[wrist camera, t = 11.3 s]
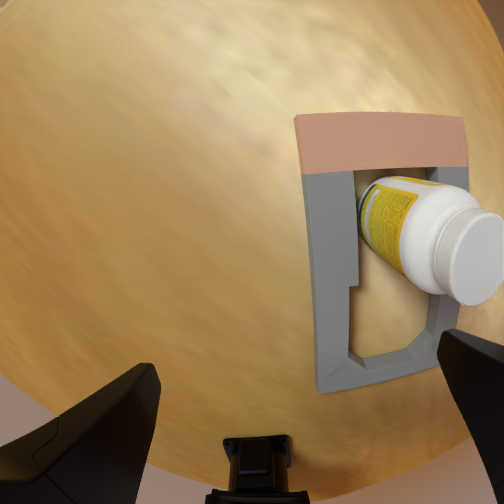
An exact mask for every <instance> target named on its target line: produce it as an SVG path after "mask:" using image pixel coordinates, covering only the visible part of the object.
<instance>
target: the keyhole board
mask: <svg viewBox="0 0 504 504" xmlns="http://www.w3.org/2000/svg"><path fill="white" fill-rule="evenodd" d="M294 124H295V131H296V138H297V145H298V153H299V161H300V168H301V177H302V185H303V194H304V203H305V213H306V223H307V233H308V245H309V257H310V270H311V284H312V300H313V318H314V340H315V373H316V386H317V390H318V395H319V394H325V393H331V392H336V391H342V390H347V389H352V388H357V387H361V386H366V385H370V384H375V383H379V382H383V381H387V380H391V379H395V378H399V377H402V376H406V375H409V374H413V373H416V372H420V371H423V370H426V369H429V368H433V367H436V366H439V365H440V364H439V362H438V359H437V349H438V345H439V341H440V336H441V333H442V332H443V331H444V330H448V329H452V328H454V329H455V327H456V322H457V317H458V312H459V306H460V303H459V302H457V301H456V300H455V299H454V298H452V297H451V296H449V295H448V294H439V295H438V294H430V302H429V309H428V316H427V323H426V328H425V329H424V330H423V332H422V333H421V334H420V335H419V336H418V337H417V338H416V339H415V340H414V341H413V342H412V343H411V344H410V345H409V346H408V347H407V348H406V349H403V350H399V351H395V352H391V353H387V354H382V355H378V356H373V357H369V358H364V359H362V358H360V357H359V356H357V355H356V354H354V353H353V352H351V351H350V350H348V341H349V287H350V286H357V285H359V270H358V233H357V214H356V199H355V187H354V176H353V170H368V169H386V168H409V167H426V169H427V181H432V182H437V183H442V184H447V185H452V186H456V187H459V188H462V189H464V190H466V191H467V192H469V181H468V161H467V149H466V139H465V130H464V122H463V117H454V116H445V115H434V114H420V113H400V112H337V113H317V114H302V115H296V117H295V118H294Z"/></svg>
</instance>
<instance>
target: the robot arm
mask: <svg viewBox="0 0 504 504" xmlns="http://www.w3.org/2000/svg"><path fill="white" fill-rule="evenodd" d="M437 359H438V362H439V364H440V366H441V369H442V371H443V374H444V376H445V379H446V381H447V384H448V386H449V389H450V391H451V394H452V396H453V398H454V400H455V402H456V404H457V406H458V408H459V410H460V412H461V414H462V416H463V418H464V420H465V423H466V425H467V427H468V429H469V431H470V433H471V436H472V438H473V440H474V442H475V445H476V446H477V449H478V452H479V454H480V456H481V459H482V461H483V463H484V466H485V469H486V471H487V474H488V477H489V479H490V482H491V485H492V488H493V489H494V490H493V491H494V494H495V497H496V500H497V503H498V504H504V346H502V345H500V344H497V343H494V342H491V341H488V340H485V339H483V338H480V337H477V336H474V335H471V334H468V333H465V332H463V331H460V330H457V329H454V328H452V329H448V330H444V331H443V332H442V333H441V336H440V341H439V345H438V349H437ZM160 394H161V383H160V380H159V378H158V375H157V372H156V369H155V367H154V365H153V364H152V363H139V364H137V365H136V366H134V367H133V368H131V369H130V370H128V371H127V372H125V373H124V374H122V375H121V376H119V377H118V378H116V379H115V380H113V381H112V382H110V383H109V384H107V385H106V386H104V387H103V388H101V389H100V390H98V391H97V392H95V393H93V394H92V395H90V396H89V397H87V398H86V399H84V400H83V401H81V402H80V403H78V404H76V405H75V406H73V407H72V408H70V409H69V410H67V411H65V412H64V413H62V414H61V415H59V417H56V418H54V419H53V420H51V421H50V422H48V423H46V424H45V425H43V426H41V427H40V428H38V429H36V430H34V431H32V432H30V433H28V434H26V435H24V436H22V437H20V438H18V439H16V440H14V441H12V442H10V443H8V444H5V445H3V446H1V447H0V504H135V502H136V498H137V494H138V490H139V486H140V482H141V478H142V475H143V471H144V467H145V463H146V460H147V456H148V452H149V449H150V445H151V441H152V438H153V434H154V430H155V425H156V418H157V412H158V406H159V400H160ZM223 446H224V449H225V451H226V454H227V456H228V459H229V461H230V475H229V487H228V491H222V490H218V489H212V493H211V494H209V495H206V499H205V504H310V501H309V497H308V493H307V491H301V492H289V488H288V474H287V468H289V467H291V459H290V449H289V439H288V436H287V435H278V436H267V437H253V438H231V439H224V440H223Z"/></svg>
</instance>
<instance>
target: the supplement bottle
mask: <svg viewBox="0 0 504 504" xmlns="http://www.w3.org/2000/svg"><path fill="white" fill-rule="evenodd" d="M357 224H358V229H359V232H360V234H361V236H362V238H363V240H364V241H365V242H366V244H367V245H368V246H369V247H370V248H371V249H372V250H373V251H375V252H376V253H377V254H378V255H379V256H381V257H382V258H383V259H384V260H386V261H387V262H388V263H389V264H390V265H391V266H393V267H394V268H395V269H396V270H397V271H398V272H400V273H401V274H402V275H403V276H404V277H406V278H407V279H408V280H409V281H410V282H411V283H413V284H414V285H415V286H416V287H418V288H419V289H421V290H423V291H425V292H427V293H430V294H438V295H439V294H448V295H449V296H451V297H452V298H454V299H455V300H456V301H457V302H459V303H460V304H462V305H464V306H477V305H480V304H482V303H484V302H485V301H487V300H488V299H489V298H491V297H492V296H493V295H494V294H495V293H496V291H497V290H498V289H499V287H500V286H501V284H502V283H503V281H504V220H503V219H502V218H501V217H500V216H498V215H496V214H494V213H491V212H489V211H486V210H483V209H482V208H481V206H480V205H479V203H478V202H477V200H476V199H475V198H474V197H473V196H472V195H471V194H470V193H469V192H467V191H466V190H464V189H462V188H459V187H456V186H452V185H447V184H442V183H437V182H432V181H426V180H421V179H416V178H410V177H404V176H385V177H382V178H380V179H378V180H376V181H375V182H373V183H372V184H371V185H370V186H369V187H368V188H367V189H366V190H365V192H364V193H363V195H362V197H361V199H360V201H359V204H358V209H357Z"/></svg>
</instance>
